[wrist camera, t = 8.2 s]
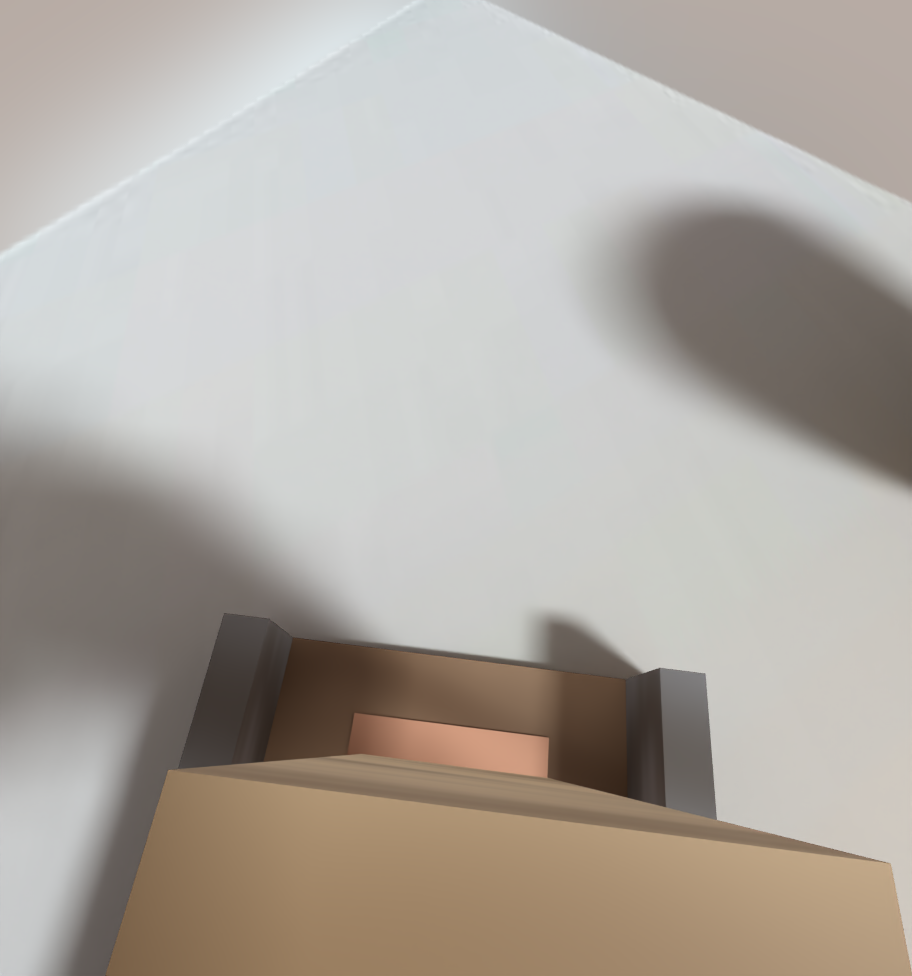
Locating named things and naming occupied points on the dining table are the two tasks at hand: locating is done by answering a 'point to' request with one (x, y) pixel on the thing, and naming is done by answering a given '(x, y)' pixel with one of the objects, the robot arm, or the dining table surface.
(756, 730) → the dining table surface
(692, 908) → the oak block
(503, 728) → the bay
